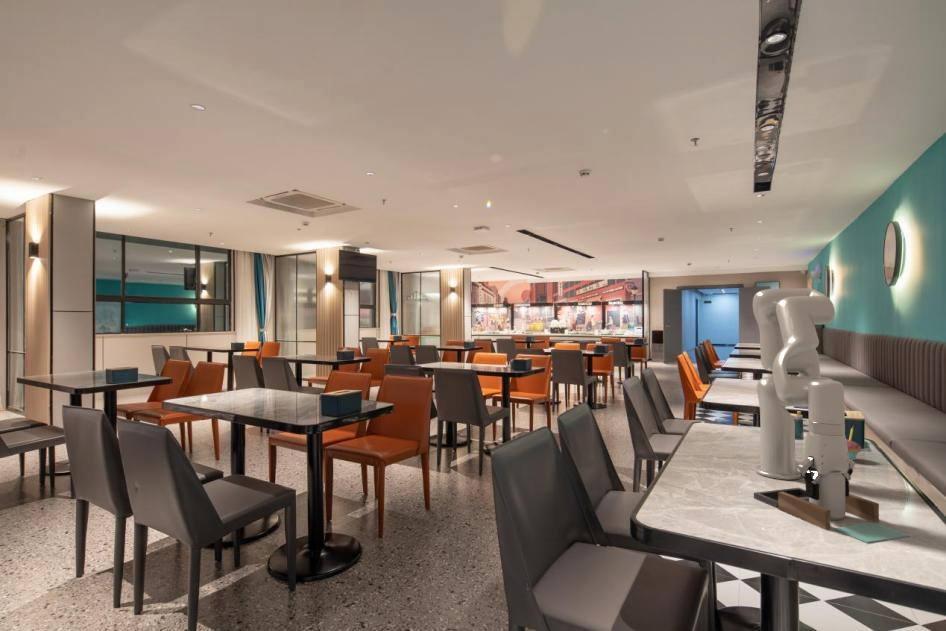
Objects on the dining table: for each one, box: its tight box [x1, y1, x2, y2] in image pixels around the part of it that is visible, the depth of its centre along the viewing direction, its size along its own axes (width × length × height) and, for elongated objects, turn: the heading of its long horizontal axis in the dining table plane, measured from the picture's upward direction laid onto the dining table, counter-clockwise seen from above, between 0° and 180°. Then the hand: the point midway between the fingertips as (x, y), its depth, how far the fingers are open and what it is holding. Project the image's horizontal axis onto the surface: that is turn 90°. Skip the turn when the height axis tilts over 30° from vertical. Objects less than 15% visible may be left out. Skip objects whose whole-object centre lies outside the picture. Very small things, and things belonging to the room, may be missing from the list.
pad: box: [833, 522, 910, 544], centre depth 115 cm, size 13×8×1 cm, turn 105°
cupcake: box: [846, 426, 862, 461], centre depth 176 cm, size 9×8×12 cm
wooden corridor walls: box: [778, 492, 880, 531], centre depth 126 cm, size 17×13×4 cm
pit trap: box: [753, 487, 809, 509], centre depth 136 cm, size 16×8×2 cm, turn 105°
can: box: [809, 470, 846, 521], centre depth 126 cm, size 8×8×12 cm
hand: (827, 496), depth 125 cm, fingers open, 9 cm apart
